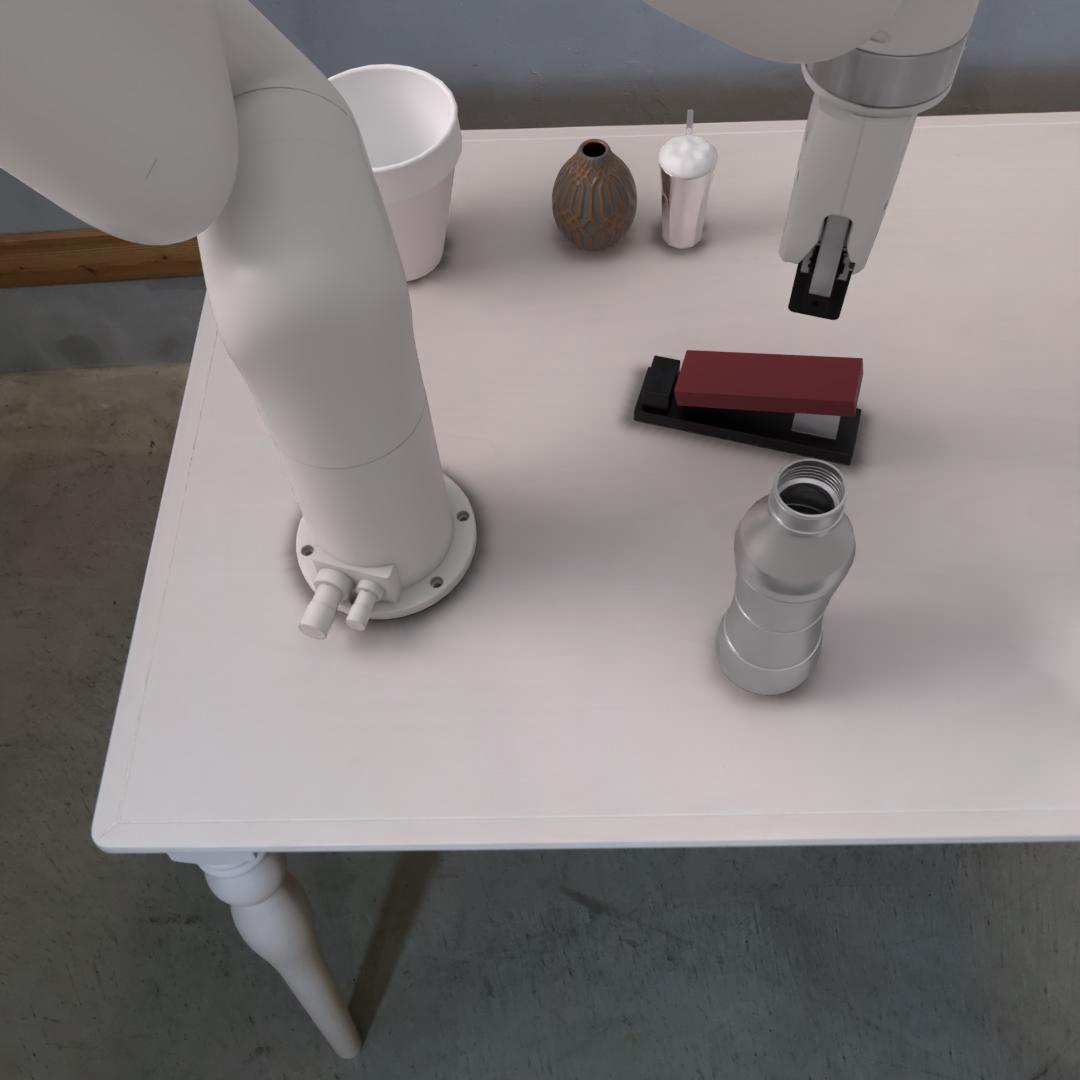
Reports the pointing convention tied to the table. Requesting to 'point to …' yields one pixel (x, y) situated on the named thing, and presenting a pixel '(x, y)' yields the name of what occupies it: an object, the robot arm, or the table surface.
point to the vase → (594, 197)
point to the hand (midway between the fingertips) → (814, 306)
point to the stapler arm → (770, 382)
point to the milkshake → (685, 186)
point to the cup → (408, 153)
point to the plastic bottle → (786, 578)
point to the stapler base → (745, 420)
